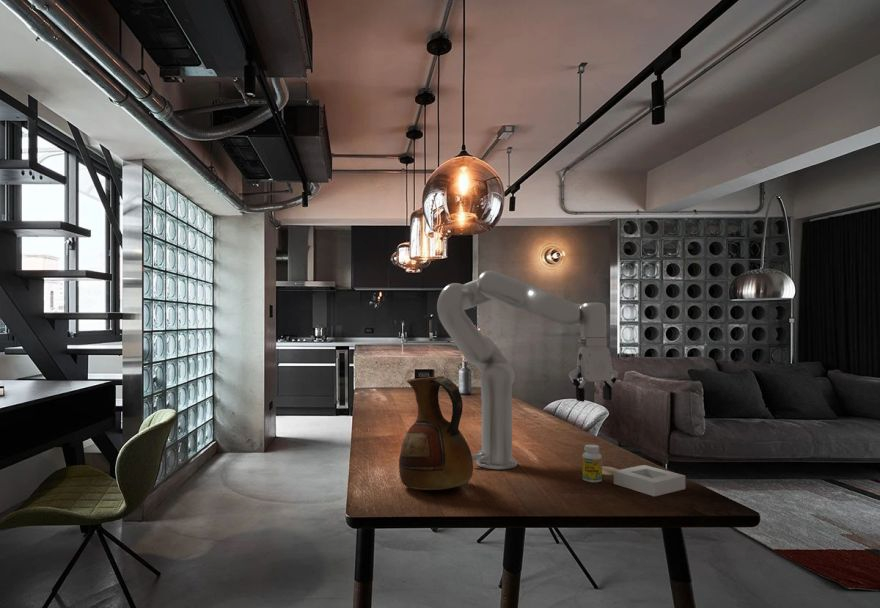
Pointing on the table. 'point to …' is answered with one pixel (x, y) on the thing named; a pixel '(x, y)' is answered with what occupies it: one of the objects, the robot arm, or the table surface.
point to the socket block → (649, 480)
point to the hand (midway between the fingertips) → (594, 400)
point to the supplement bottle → (592, 464)
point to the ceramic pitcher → (435, 441)
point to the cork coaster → (608, 470)
